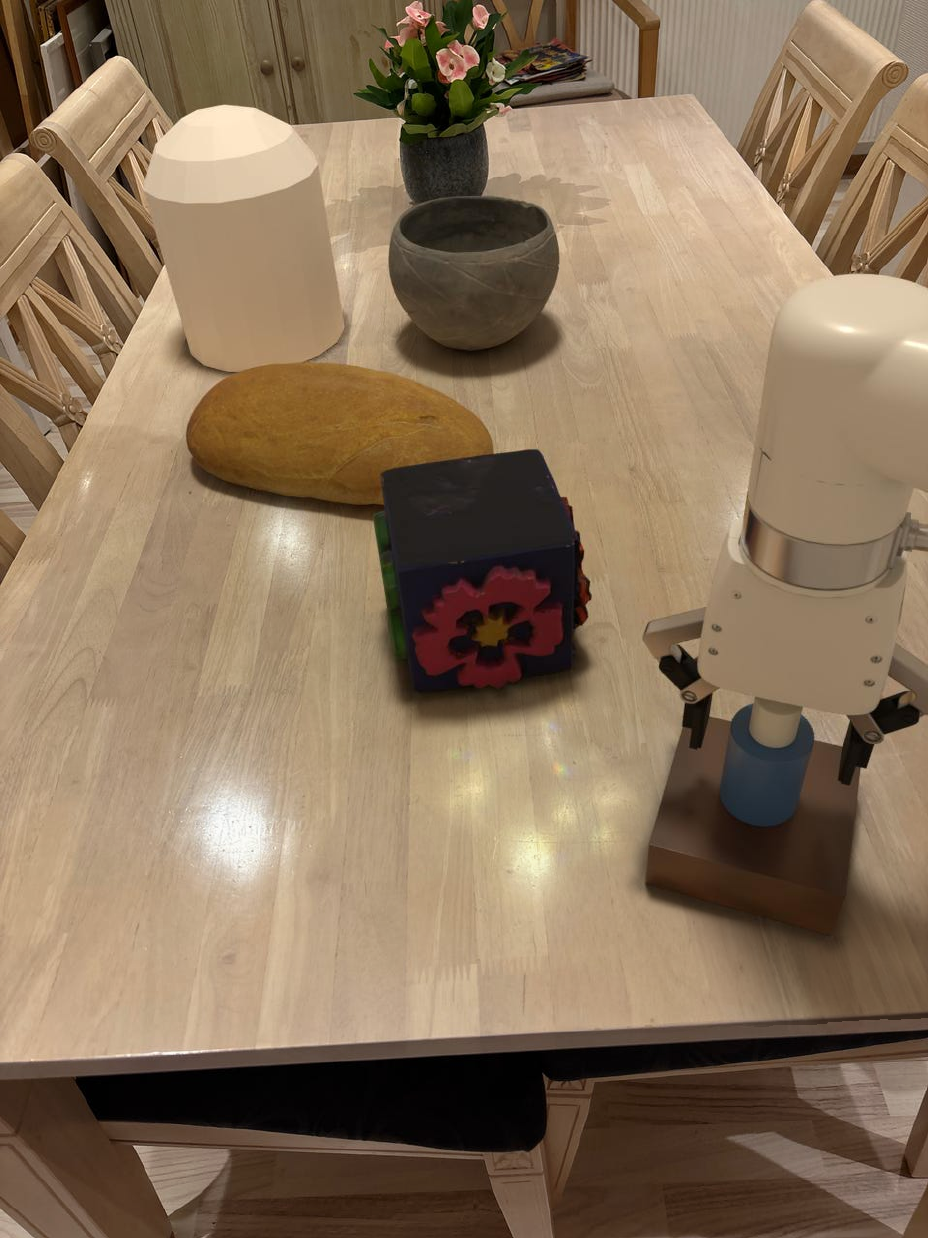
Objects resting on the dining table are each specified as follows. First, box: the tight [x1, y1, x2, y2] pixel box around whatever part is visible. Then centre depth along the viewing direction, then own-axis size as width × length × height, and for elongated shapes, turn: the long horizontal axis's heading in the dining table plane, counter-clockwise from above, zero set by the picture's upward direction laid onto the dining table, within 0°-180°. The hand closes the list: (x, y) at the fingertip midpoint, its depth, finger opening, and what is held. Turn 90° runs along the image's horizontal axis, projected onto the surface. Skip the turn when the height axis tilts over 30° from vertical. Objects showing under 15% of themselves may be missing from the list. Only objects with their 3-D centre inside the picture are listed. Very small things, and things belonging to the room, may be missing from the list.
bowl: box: [387, 195, 560, 352], centre depth 120 cm, size 21×21×15 cm
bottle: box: [719, 696, 816, 827], centre depth 61 cm, size 5×5×10 cm
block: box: [644, 716, 862, 937], centre depth 66 cm, size 12×12×4 cm
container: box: [143, 104, 346, 373], centre depth 121 cm, size 21×21×28 cm
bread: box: [185, 361, 494, 506], centre depth 103 cm, size 18×35×10 cm, turn 70°
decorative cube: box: [372, 448, 593, 693], centre depth 80 cm, size 16×16×14 cm
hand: (770, 749), depth 61 cm, fingers open, 8 cm apart
